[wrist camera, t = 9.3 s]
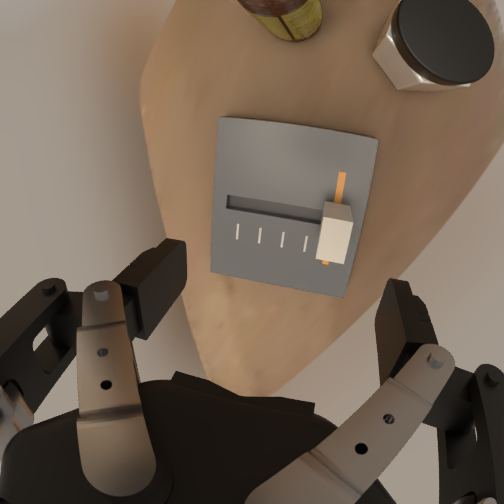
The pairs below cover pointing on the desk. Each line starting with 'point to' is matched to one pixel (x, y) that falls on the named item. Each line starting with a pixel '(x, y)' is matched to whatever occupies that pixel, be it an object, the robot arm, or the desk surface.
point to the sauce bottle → (287, 17)
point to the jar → (434, 45)
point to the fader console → (285, 200)
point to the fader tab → (334, 232)
